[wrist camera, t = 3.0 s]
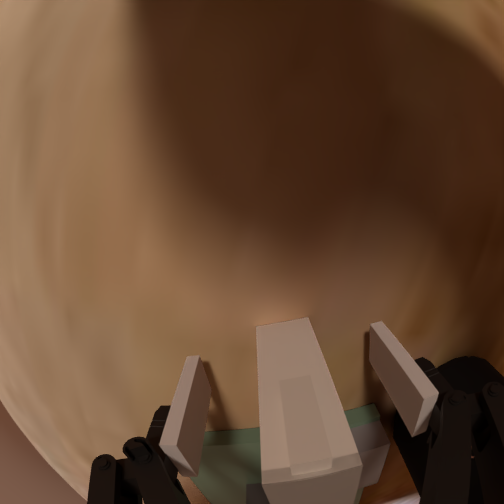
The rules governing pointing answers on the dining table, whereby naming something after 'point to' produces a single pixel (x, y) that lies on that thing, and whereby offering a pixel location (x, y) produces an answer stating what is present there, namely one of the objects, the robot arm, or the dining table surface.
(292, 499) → the plug
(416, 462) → the coffee jar
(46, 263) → the dining table surface
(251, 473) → the board
